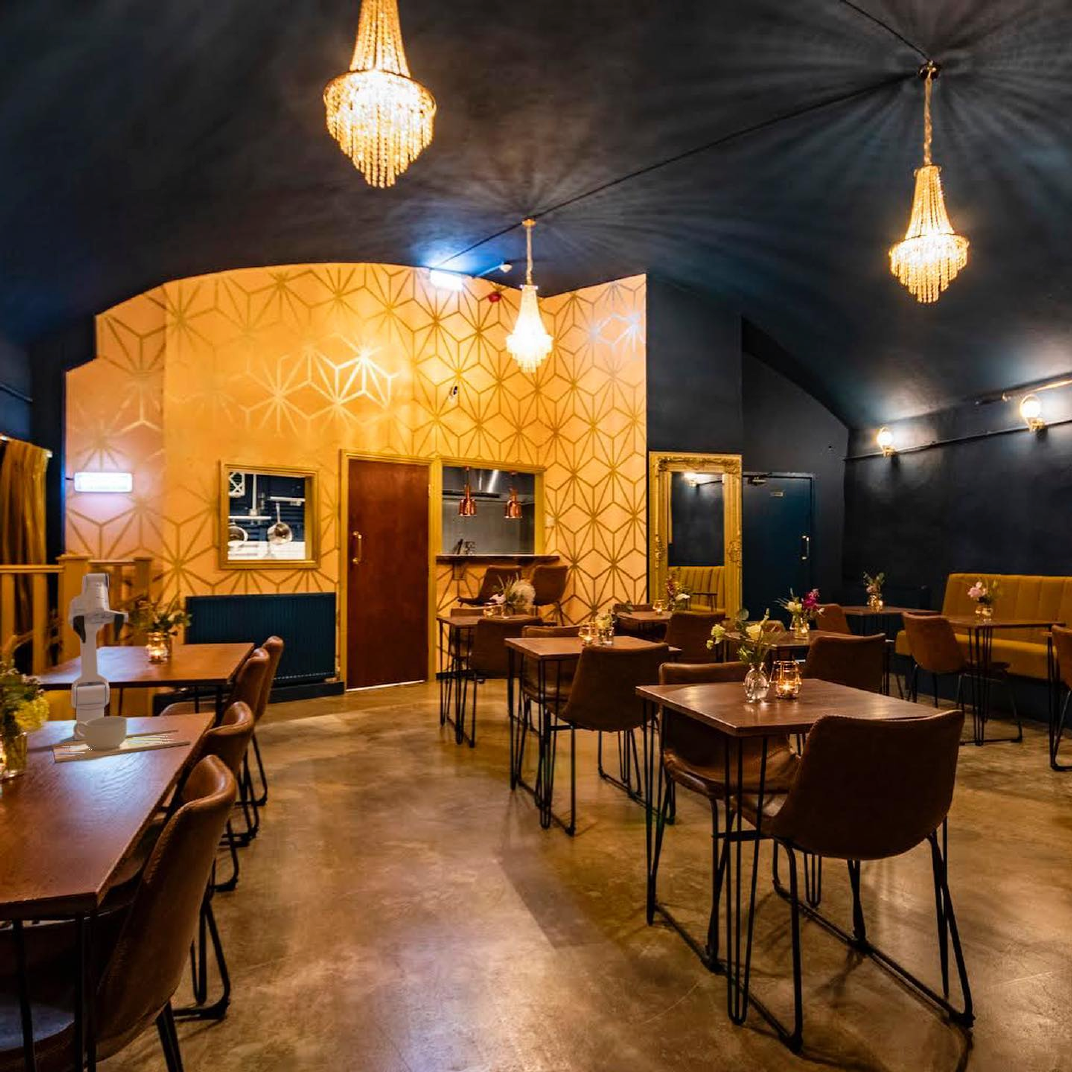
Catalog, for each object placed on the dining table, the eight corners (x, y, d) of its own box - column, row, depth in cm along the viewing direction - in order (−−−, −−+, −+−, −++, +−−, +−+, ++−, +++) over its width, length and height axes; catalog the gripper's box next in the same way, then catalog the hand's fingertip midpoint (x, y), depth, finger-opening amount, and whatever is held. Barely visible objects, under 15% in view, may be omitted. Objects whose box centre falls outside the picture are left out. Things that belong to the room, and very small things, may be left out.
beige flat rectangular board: (52, 747, 215) (52, 744, 215) (177, 731, 234) (177, 728, 234) (56, 762, 200) (56, 758, 200) (190, 744, 219) (190, 740, 219)
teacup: (135, 743, 218) (135, 716, 219) (110, 753, 208) (110, 724, 208) (90, 742, 220) (90, 715, 220) (63, 752, 209) (63, 723, 209)
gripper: (68, 595, 208) (70, 631, 200) (127, 594, 217) (131, 628, 208) (66, 613, 212) (68, 649, 203) (125, 611, 220) (129, 645, 212)
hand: (100, 639), depth 206 cm, fingers open, 7 cm apart
